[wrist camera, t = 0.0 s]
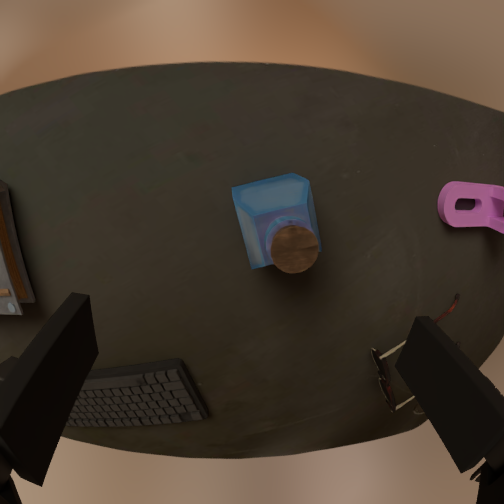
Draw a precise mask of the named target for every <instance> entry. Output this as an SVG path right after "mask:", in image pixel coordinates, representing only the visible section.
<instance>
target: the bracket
mask: <svg viewBox="0 0 504 504" xmlns="http://www.w3.org/2000/svg"><path fill="white" fill-rule="evenodd" d="M459 198H470V199H475V207H474V208H473V209H472V210H455V202H456V200H457V199H459ZM503 211H504V187H502V186H497V185H488V184H479V183H468V182H457V181H452V182H449V183H447V184H446V185H445V186H444V187H443V188H442V190H441V192H440V194H439V198H438V213H439V216H440V218H441V219H442V220H443V221H444V222H445V223H447V224H449V225H451V226H453V227H477V226H487V227H490V228H492V229H494V230H496V231H499V232H501V233H503V234H504V217H503Z"/></svg>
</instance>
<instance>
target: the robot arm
mask: <svg viewBox="0 0 504 504" xmlns="http://www.w3.org/2000/svg"><path fill="white" fill-rule="evenodd" d="M98 353H99V352H98V347H97V342H96V336H95V330H94V324H93V318H92V311H91V304H90V296H89V295H85V294H79V293H73V292H72V293H71V294H70V295H69V297H68V298H67V299H66V300H65V301H64V302H63V304H62V305H61V306H60V307H59V308H58V309H57V311H56V312H55V313H54V314H53V315H52V317H51V318H50V319H49V320H48V321H47V323H46V324H45V325H44V326H43V328H42V329H41V330H40V331H39V333H38V334H37V335H36V337H35V338H34V339H33V340H32V342H31V343H30V344H29V346H28V347H27V348H26V350H25V351H24V352H23V353H22V355H21V356H20V358H19V359H18V358H15V357H12V356H11V357H10V358H8V359H7V360H6V361H4V362H3V363H1V364H0V504H22V502H21V500H20V497H19V495H18V492H17V489H16V487H15V484H14V481H13V479H12V478H11V476H10V474H11V471H12V469H14V470H15V471H16V473H17V474H18V475H19V476H20V477H21V478H23V479H25V480H27V481H29V482H32V483H34V484H36V485H39V486H41V487H42V485H43V482H44V479H45V476H46V473H47V471H48V468H49V465H50V462H51V460H52V457H53V454H54V451H55V449H56V447H57V444H58V442H59V439H60V437H61V434H62V432H63V429H64V427H65V425H66V422H67V420H68V418H69V415H70V413H71V411H72V408H73V406H74V404H75V402H76V400H77V397H78V395H79V393H80V391H81V389H82V386H83V384H84V382H85V380H86V378H87V376H88V374H89V372H90V370H91V368H92V366H93V364H94V362H95V359H96V357H97V355H98ZM395 367H396V369H397V370H398V372H399V373H400V375H401V376H402V378H403V379H404V381H405V382H406V384H407V386H408V387H409V389H410V390H411V392H412V393H413V395H414V396H415V398H416V400H417V401H418V403H419V404H420V406H421V407H422V409H423V411H424V412H425V414H426V415H427V417H428V419H429V420H430V422H431V423H432V425H433V427H434V428H435V430H436V432H437V433H438V435H439V436H440V438H441V440H442V442H443V443H444V445H445V447H446V448H447V450H448V452H449V453H450V455H451V457H452V459H453V460H454V462H455V464H456V466H457V467H458V469H459V471H460V473H463V472H465V471H467V470H469V469H471V468H473V467H474V466H475V465H476V464H478V462H479V461H480V460H481V459H482V458H483V457H484V458H485V459H486V461H485V463H484V464H483V465H482V466H481V467H480V468H478V469H477V471H475V472H474V474H472V476H471V478H470V480H473V479H474V478H475V477H476V476H477V475H478V474H479V473H481V474H480V475H479V476H478V477H477V478H476V480H475V481H476V482H480V483H479V490H478V496H477V502H476V504H504V396H503V395H501V394H500V392H499V390H498V389H497V388H495V386H494V384H493V383H492V382H491V381H490V380H489V379H488V378H487V377H485V376H484V375H483V374H482V373H481V372H480V370H479V369H478V368H477V367H476V366H475V365H474V364H473V363H472V362H471V360H470V359H469V358H468V357H467V356H466V355H465V354H464V353H463V352H462V351H461V350H460V348H459V347H458V346H457V345H456V344H455V343H454V342H453V341H452V340H451V339H450V338H449V337H448V336H447V335H446V334H445V333H444V332H443V331H442V330H441V329H440V327H439V326H438V325H437V324H436V323H435V322H434V321H433V320H432V319H431V318H430V317H429V316H421V317H416V318H415V320H414V323H413V325H412V328H411V330H410V333H409V335H408V338H407V340H406V342H405V344H404V347H403V349H402V351H401V353H400V356H399V358H398V360H397V362H396V364H395Z"/></svg>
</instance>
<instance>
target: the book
mask: <svg viewBox="0 0 504 504" xmlns="http://www.w3.org/2000/svg"><path fill="white" fill-rule="evenodd" d="M35 301H36V300H35V297H34V294H33V291H32V288H31V285H30V282H29V278H28V275H27V272H26V268H25V265H24V261H23V258H22V254H21V250H20V246H19V242H18V238H17V234H16V229H15V225H14V220H13V215H12V209H11V204H10V198H9V192H8V185H7V184H6V183H5V182H3V181H2V180H0V314H8V315H22V314H23V310H22V308H21V305H20V303H34V302H35Z"/></svg>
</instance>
